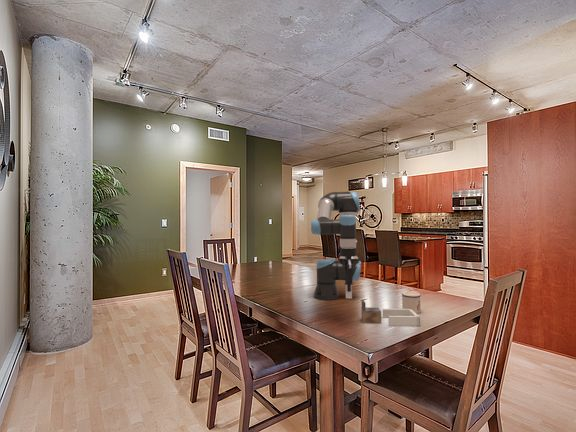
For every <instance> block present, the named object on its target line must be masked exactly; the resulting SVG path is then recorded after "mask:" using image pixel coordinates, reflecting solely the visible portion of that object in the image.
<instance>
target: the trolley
mask: <svg viewBox="0 0 576 432" xmlns="http://www.w3.org/2000/svg"><path fill="white" fill-rule="evenodd" d="M360 308H361V309H360V310H361V313H360V315H361V320H362V322H363V324H382V310H381V309H380V308H379V307H370V306H369V307H366V301H365V300H364V299H362V300H361V307H360Z"/></svg>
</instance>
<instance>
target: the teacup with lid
mask: <svg viewBox="0 0 576 432" xmlns="http://www.w3.org/2000/svg"><path fill="white" fill-rule="evenodd" d="M401 297H402V298H401V301H402V302H401V304H402V305H401V309H412V310H413V311H414V312H415V313H416V314H417V315H418V314H420V313H421V293H420V292H417V291H415V290H414V289H413V288H411V287H409V289H408V290H406V291H402V292H401Z"/></svg>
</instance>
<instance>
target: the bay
mask: <svg viewBox="0 0 576 432" xmlns="http://www.w3.org/2000/svg"><path fill="white" fill-rule="evenodd" d="M382 318H384V319H387V318H388V326H390V327H396V326H397V327H421V316H420V315H419V314H418V313H417V314H416V313H415V312H414V311H413V310H412V309H402V308H382Z"/></svg>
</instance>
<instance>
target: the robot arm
mask: <svg viewBox="0 0 576 432" xmlns="http://www.w3.org/2000/svg"><path fill="white" fill-rule="evenodd" d="M360 204H361V203H360V197H359V193H358V192H357V191H333V192H328V193H326V194H325V195H323V196H322V197H321V198H320V199H319V200H318V204H317V208H318V211H317V216H316V219H312V220H311V222H310V229H311V230H310V231H311V234H312V235H320V236H321V235H339V247H340V248H339V252H340V253H339V255H340V256H339V257H338V260H336V258H335V257H332V258H330V257H329V258H322V259H319V260H317V262H316V286H315V289H314V293H313V297H314V299H317V300H321V299H322V300H323V301H332V300H337V299H339V298H340V293H339V292H340V291H339V290H338V287H337V281H344V285H345V299H353V283H354V282H353V281H358V280H359V279H360V276H361V271H362V261H361V260H359V257H358V256H357V243H358V240H357V217H356V216H357V215H358V214H359V211H360V210H361V205H360ZM335 211H336V212H337V211H338V215H339V219H332V213H333V212H335Z"/></svg>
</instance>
